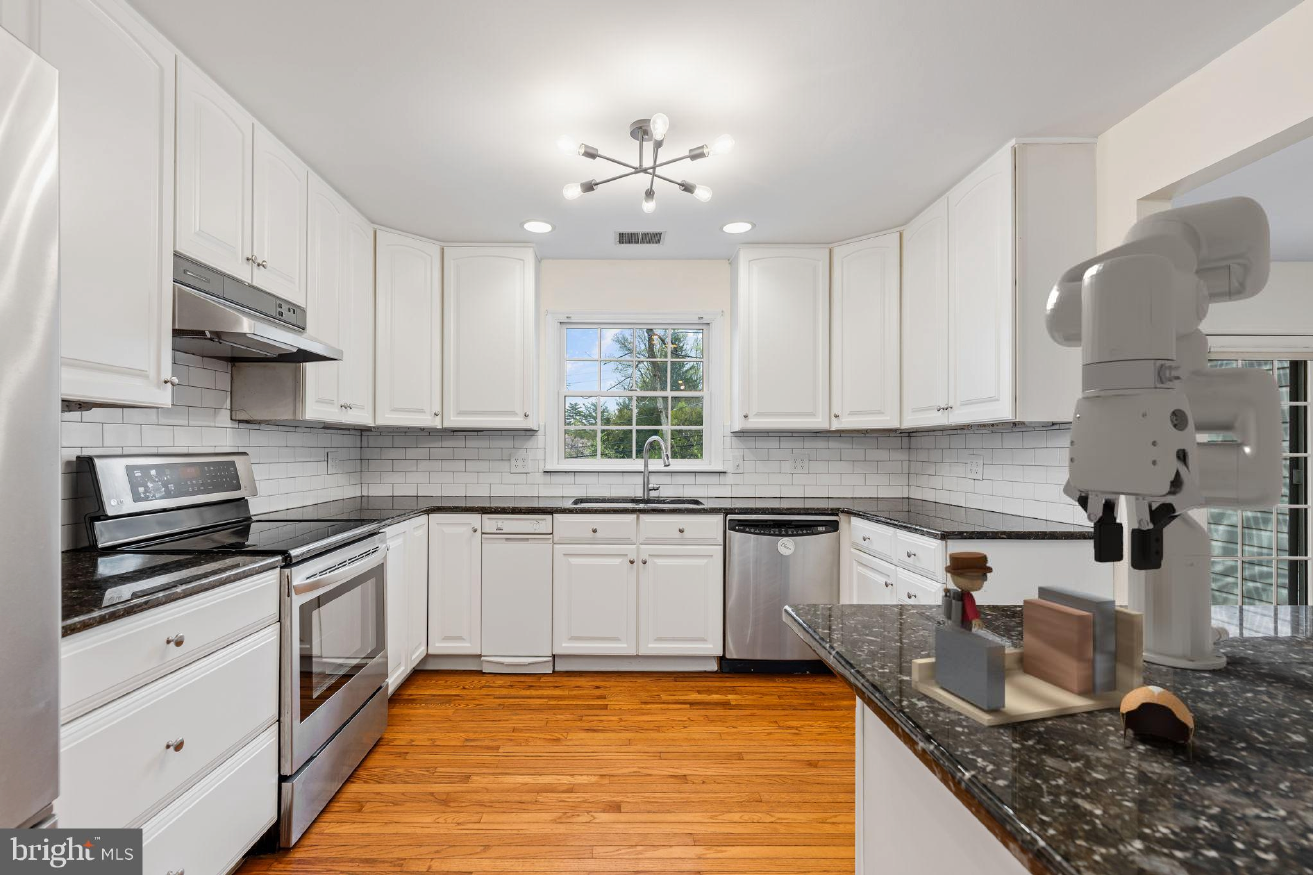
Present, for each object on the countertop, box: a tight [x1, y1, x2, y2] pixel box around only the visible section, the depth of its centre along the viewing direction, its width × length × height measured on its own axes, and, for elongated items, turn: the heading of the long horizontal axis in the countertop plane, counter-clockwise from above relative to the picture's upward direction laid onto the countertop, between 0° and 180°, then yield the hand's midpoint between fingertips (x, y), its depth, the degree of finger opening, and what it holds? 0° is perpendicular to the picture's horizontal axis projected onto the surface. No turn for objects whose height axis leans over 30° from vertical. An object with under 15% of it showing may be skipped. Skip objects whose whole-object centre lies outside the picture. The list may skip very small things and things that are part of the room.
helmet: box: [1119, 685, 1195, 764], centre depth 62 cm, size 6×7×8 cm
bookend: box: [934, 624, 1006, 711], centre depth 72 cm, size 2×8×7 cm, turn 16°
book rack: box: [911, 584, 1144, 727], centre depth 75 cm, size 23×12×12 cm, turn 106°
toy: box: [940, 551, 994, 633], centre depth 90 cm, size 11×7×15 cm, turn 168°
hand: (1127, 563), depth 61 cm, fingers open, 3 cm apart
